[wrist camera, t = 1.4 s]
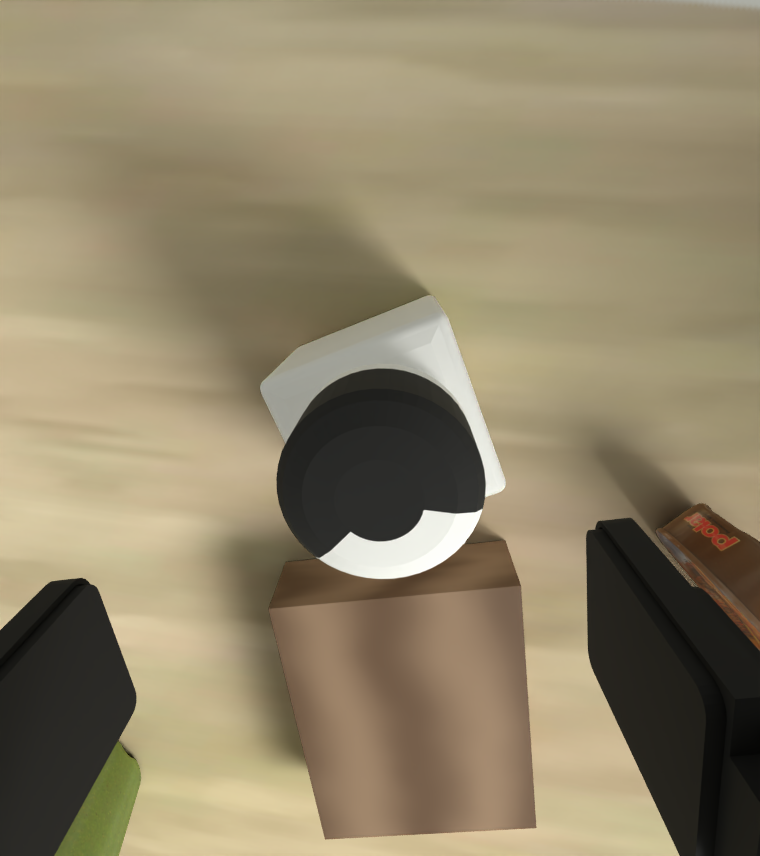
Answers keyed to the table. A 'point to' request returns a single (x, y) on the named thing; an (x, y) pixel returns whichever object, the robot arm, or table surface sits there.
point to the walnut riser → (410, 694)
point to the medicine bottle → (382, 444)
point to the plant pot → (105, 809)
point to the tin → (719, 563)
